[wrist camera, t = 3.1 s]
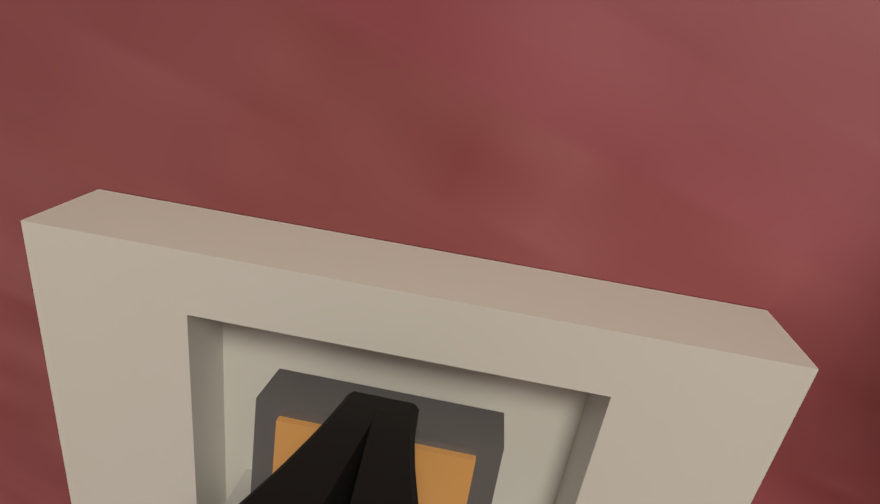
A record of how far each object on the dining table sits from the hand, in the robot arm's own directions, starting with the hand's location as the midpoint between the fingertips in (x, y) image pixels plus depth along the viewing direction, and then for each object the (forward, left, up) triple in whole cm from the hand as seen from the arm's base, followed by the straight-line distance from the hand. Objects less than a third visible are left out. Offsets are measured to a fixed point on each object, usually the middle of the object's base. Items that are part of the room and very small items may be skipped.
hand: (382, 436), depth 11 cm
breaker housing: (-5, 0, -3) cm, 6 cm away
